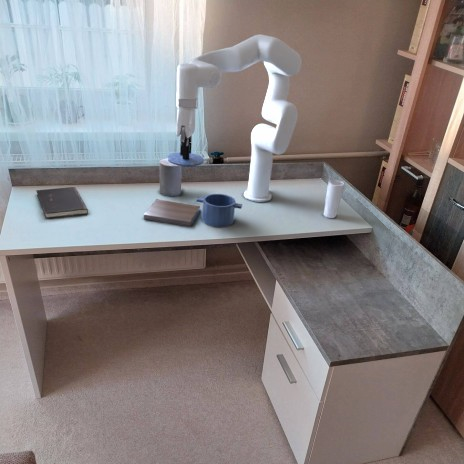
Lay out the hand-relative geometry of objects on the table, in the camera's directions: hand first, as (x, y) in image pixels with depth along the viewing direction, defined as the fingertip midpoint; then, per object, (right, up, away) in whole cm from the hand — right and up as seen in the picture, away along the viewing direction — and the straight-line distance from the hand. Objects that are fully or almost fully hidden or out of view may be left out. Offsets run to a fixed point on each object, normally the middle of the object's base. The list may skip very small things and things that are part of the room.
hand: (185, 154), depth 181 cm
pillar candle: (-10, -6, +34) cm, 36 cm away
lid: (0, -2, +1) cm, 2 cm away
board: (-7, -20, +15) cm, 26 cm away
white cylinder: (+60, -18, +27) cm, 68 cm away
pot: (+12, -22, +15) cm, 29 cm away
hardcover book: (-52, -16, +14) cm, 56 cm away
